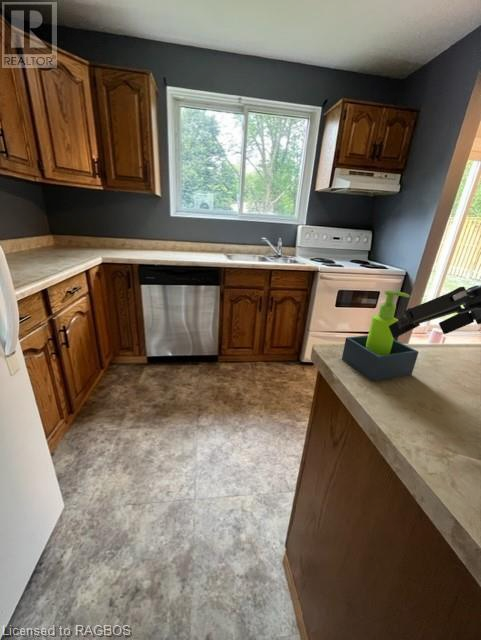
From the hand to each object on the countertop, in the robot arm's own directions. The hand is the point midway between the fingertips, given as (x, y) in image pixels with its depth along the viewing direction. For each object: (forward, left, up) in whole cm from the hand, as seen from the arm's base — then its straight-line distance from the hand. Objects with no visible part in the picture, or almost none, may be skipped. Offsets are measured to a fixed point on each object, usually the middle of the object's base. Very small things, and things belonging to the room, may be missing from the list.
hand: (417, 330), depth 60 cm
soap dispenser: (-1, -9, -14) cm, 16 cm away
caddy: (-1, -9, -14) cm, 17 cm away
